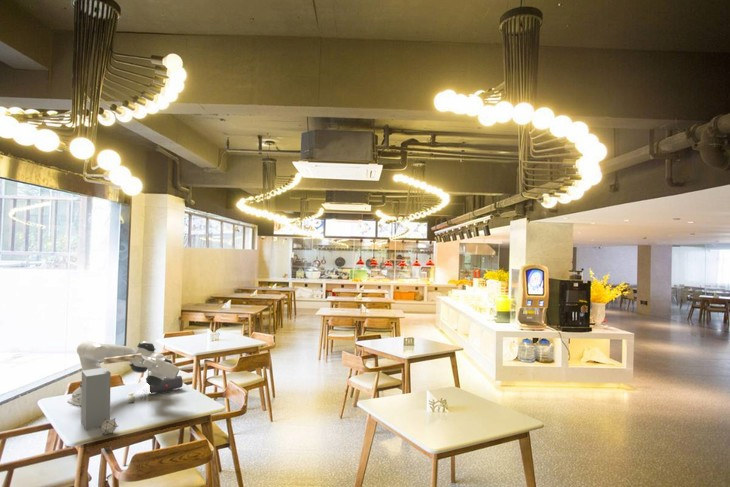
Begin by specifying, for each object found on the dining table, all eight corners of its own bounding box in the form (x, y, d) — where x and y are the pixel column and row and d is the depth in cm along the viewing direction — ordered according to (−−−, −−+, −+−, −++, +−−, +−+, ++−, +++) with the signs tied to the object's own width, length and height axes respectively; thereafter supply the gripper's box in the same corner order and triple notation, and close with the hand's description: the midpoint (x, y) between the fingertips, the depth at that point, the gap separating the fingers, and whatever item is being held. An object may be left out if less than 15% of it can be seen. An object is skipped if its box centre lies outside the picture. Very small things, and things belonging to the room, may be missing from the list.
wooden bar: (140, 358, 280) (140, 353, 280) (141, 359, 277) (141, 354, 277) (103, 363, 267) (103, 358, 267) (104, 364, 264) (104, 359, 264)
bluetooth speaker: (149, 396, 312) (149, 382, 312) (145, 393, 319) (145, 379, 319) (183, 390, 327) (183, 376, 327) (178, 387, 334) (178, 373, 334)
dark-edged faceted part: (109, 441, 246) (104, 431, 240) (98, 434, 249) (93, 423, 243) (123, 429, 253) (119, 418, 247) (113, 421, 256) (109, 411, 250)
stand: (104, 417, 272) (105, 367, 273) (109, 425, 260) (110, 372, 261) (81, 422, 264) (81, 370, 265) (85, 430, 252) (86, 376, 253)
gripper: (156, 373, 274) (135, 364, 267) (147, 366, 290) (126, 358, 282) (162, 363, 276) (140, 354, 269) (152, 357, 292) (132, 348, 284)
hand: (133, 356), depth 276 cm, fingers closed on wooden bar, 3 cm apart
